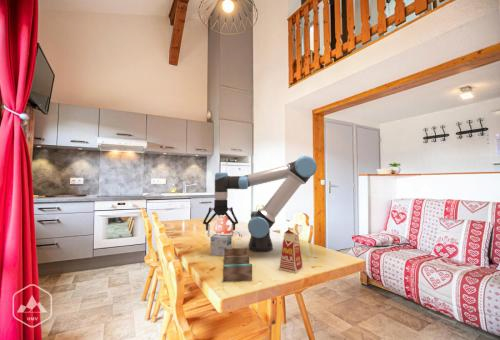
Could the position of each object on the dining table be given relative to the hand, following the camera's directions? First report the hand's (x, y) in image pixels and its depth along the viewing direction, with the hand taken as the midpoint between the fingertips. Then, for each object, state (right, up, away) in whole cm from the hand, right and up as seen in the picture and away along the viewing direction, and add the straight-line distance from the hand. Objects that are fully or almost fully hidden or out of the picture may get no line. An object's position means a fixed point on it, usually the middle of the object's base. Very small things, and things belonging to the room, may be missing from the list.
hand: (220, 236), depth 143 cm
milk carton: (+37, -9, -24) cm, 45 cm away
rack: (+11, -9, -25) cm, 28 cm away
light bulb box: (0, -11, 0) cm, 11 cm away
